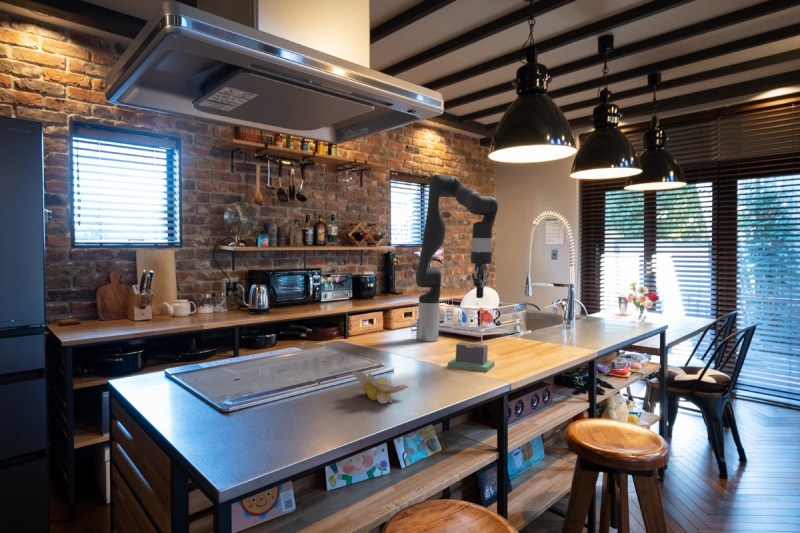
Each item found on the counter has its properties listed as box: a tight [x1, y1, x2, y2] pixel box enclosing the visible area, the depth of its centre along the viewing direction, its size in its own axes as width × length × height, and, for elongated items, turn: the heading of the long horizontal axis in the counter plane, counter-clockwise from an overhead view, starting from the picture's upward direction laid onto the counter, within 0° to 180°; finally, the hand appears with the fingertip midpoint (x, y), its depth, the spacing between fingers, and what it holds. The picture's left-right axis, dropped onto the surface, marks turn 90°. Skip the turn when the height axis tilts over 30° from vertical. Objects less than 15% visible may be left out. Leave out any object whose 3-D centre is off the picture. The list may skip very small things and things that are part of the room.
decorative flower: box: [352, 370, 410, 404], centre depth 121 cm, size 15×11×10 cm
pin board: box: [447, 357, 495, 373], centre depth 159 cm, size 14×10×6 cm
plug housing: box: [455, 341, 489, 365], centre depth 159 cm, size 10×5×6 cm, turn 63°
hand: (479, 297), depth 165 cm, fingers closed
